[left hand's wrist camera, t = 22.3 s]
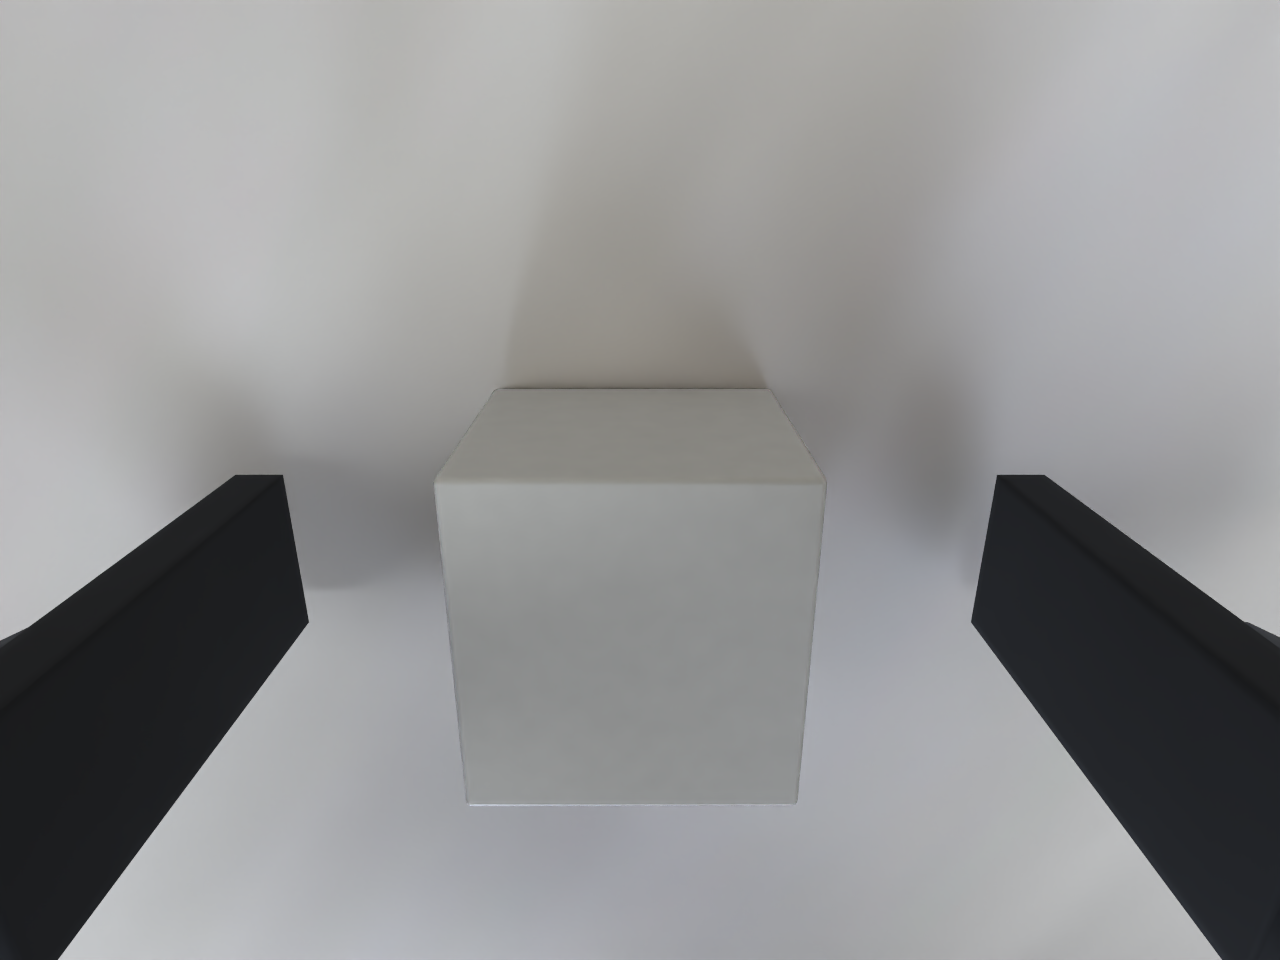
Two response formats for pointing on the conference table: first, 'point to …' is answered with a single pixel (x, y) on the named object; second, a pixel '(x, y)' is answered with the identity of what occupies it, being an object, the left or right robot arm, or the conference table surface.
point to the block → (631, 597)
